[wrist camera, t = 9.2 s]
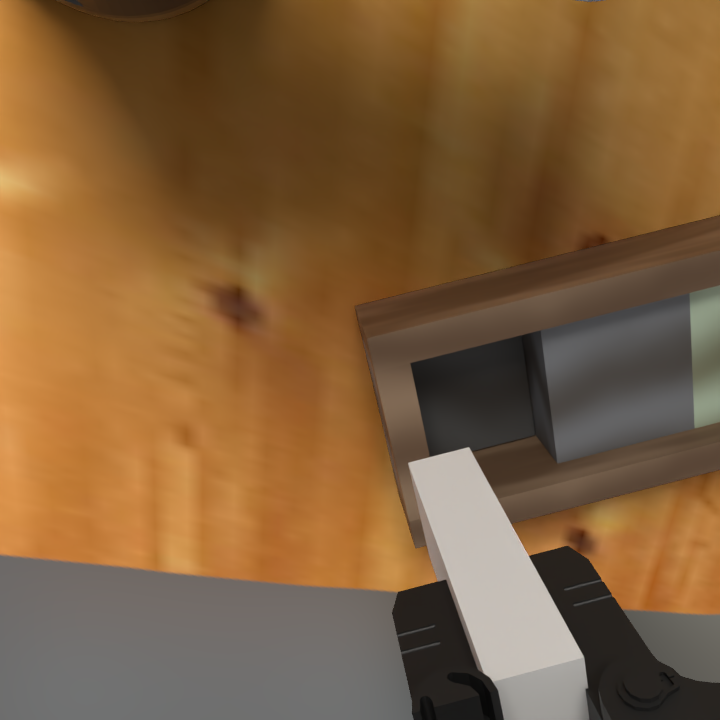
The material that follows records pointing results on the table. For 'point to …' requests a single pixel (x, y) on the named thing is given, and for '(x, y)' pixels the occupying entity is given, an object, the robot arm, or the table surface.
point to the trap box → (558, 372)
